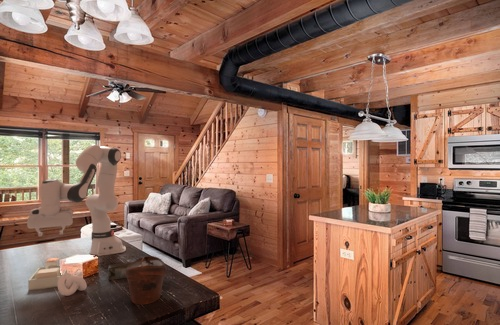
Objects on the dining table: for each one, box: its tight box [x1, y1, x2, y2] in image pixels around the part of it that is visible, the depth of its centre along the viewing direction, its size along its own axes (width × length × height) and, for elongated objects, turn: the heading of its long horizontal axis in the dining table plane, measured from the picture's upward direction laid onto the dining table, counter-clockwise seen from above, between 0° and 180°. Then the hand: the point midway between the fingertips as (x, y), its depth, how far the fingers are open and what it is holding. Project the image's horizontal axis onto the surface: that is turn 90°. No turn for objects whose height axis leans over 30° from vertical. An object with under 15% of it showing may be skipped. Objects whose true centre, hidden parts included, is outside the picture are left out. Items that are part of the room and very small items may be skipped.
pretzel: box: [57, 269, 88, 297], centre depth 141 cm, size 11×12×9 cm
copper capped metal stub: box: [45, 257, 60, 269], centre depth 156 cm, size 5×5×9 cm
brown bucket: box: [125, 255, 168, 306], centre depth 136 cm, size 18×20×18 cm
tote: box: [27, 264, 67, 291], centre depth 152 cm, size 14×18×5 cm
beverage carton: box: [107, 261, 134, 281], centre depth 162 cm, size 8×19×7 cm, turn 112°
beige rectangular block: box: [36, 268, 60, 279], centre depth 148 cm, size 9×6×7 cm, turn 112°
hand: (51, 235), depth 158 cm, fingers open, 8 cm apart
